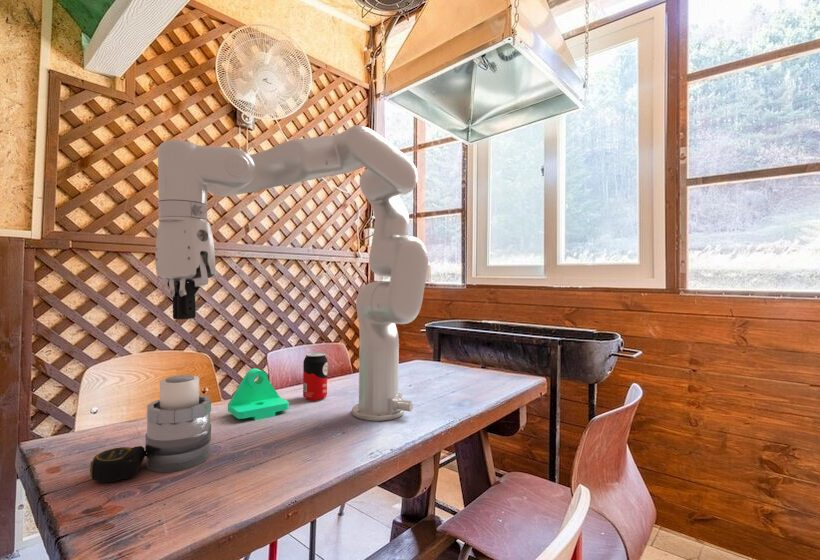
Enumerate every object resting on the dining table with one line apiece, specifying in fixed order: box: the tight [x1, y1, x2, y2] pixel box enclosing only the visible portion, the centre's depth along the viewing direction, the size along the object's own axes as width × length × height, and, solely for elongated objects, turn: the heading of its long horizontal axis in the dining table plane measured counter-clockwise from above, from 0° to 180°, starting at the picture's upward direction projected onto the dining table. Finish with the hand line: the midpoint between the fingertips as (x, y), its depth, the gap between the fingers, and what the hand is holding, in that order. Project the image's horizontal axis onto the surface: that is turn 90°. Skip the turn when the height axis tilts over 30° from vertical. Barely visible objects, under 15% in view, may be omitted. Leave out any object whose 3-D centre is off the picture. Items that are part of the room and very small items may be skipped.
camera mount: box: [227, 368, 290, 421], centre depth 96 cm, size 12×8×10 cm, turn 131°
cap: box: [159, 374, 200, 410], centre depth 71 cm, size 6×6×6 cm
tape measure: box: [89, 445, 147, 483], centre depth 65 cm, size 7×7×4 cm
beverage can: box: [302, 351, 328, 402], centre depth 109 cm, size 6×6×12 cm
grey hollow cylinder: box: [144, 394, 212, 473], centre depth 71 cm, size 10×10×10 cm
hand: (184, 318), depth 72 cm, fingers closed
